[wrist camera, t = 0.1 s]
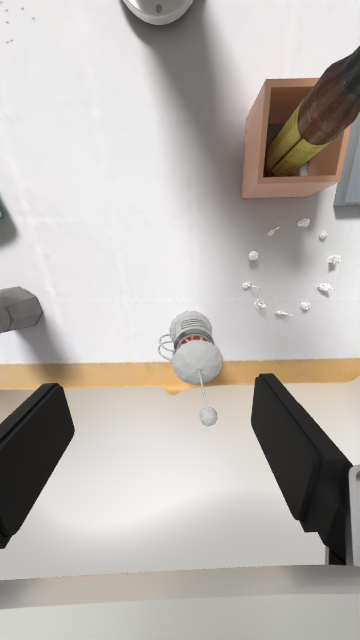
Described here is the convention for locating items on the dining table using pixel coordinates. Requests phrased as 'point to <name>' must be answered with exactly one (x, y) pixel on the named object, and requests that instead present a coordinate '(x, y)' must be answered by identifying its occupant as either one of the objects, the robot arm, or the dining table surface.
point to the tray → (350, 170)
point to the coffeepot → (18, 309)
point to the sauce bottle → (317, 118)
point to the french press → (194, 354)
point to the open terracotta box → (268, 108)
